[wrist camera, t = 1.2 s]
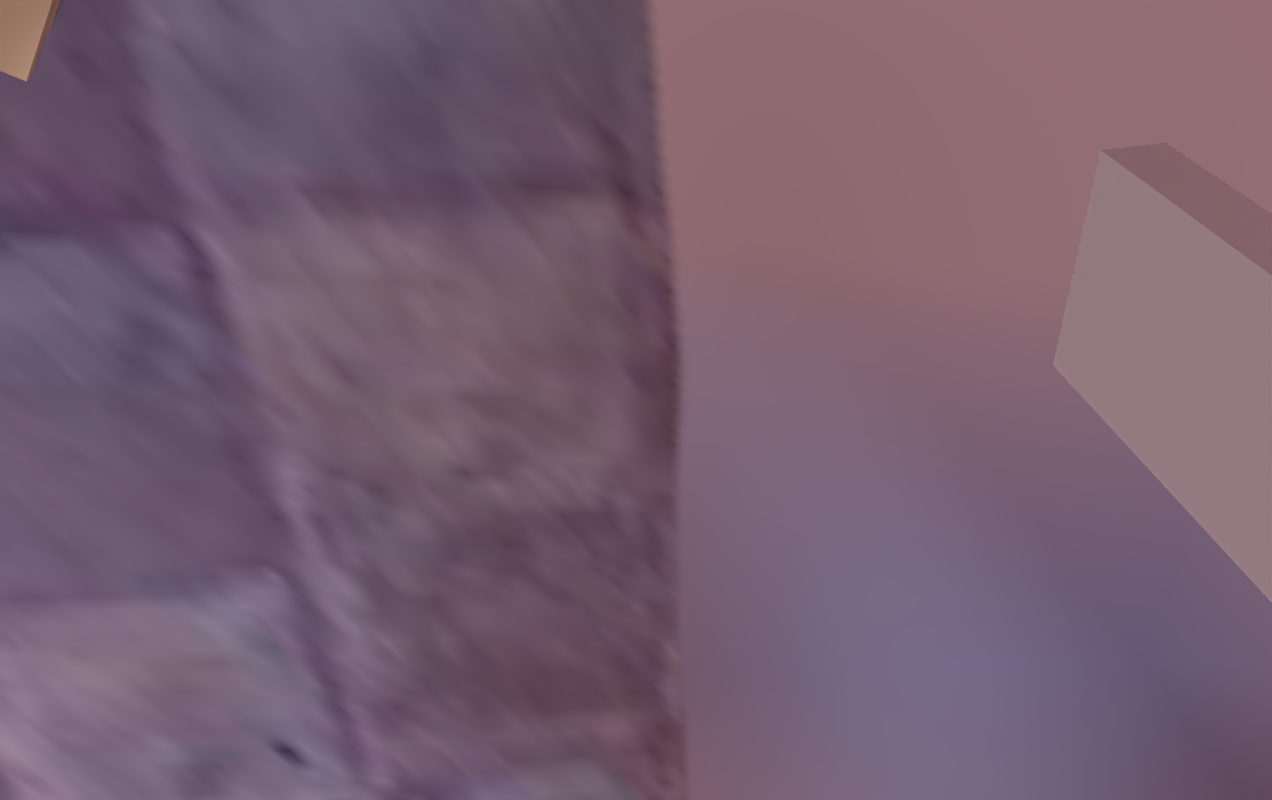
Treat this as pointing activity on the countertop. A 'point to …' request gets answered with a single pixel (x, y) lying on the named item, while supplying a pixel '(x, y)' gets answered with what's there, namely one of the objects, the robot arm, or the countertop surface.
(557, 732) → the countertop surface
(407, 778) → the countertop surface
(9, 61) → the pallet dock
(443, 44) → the countertop surface
